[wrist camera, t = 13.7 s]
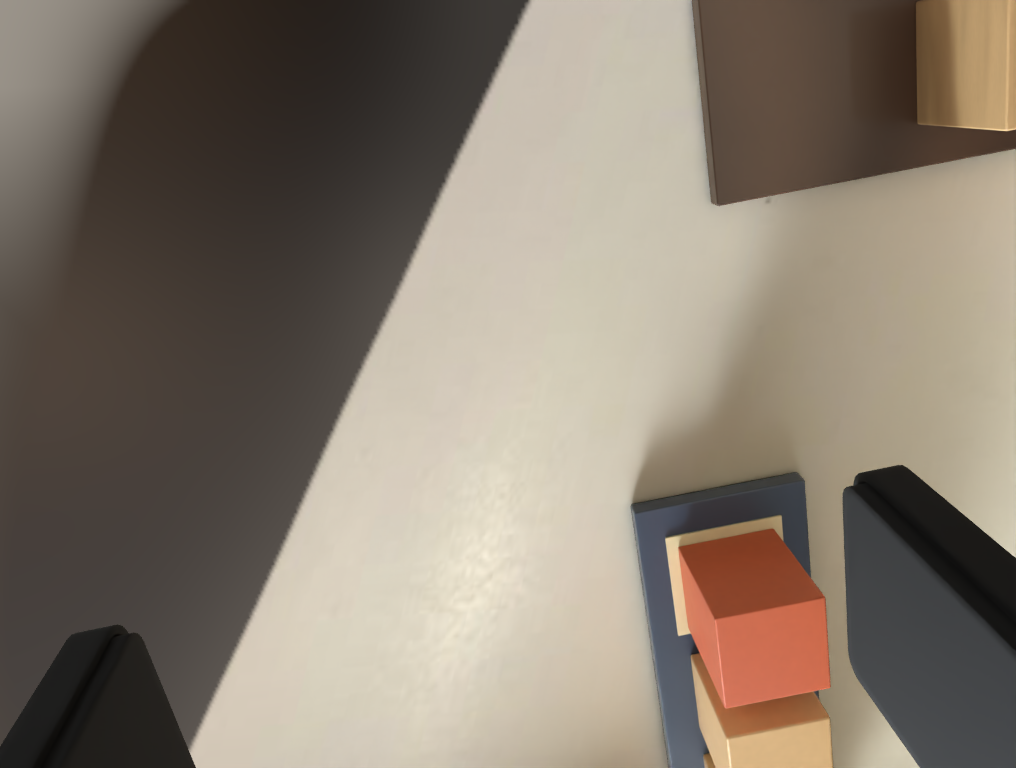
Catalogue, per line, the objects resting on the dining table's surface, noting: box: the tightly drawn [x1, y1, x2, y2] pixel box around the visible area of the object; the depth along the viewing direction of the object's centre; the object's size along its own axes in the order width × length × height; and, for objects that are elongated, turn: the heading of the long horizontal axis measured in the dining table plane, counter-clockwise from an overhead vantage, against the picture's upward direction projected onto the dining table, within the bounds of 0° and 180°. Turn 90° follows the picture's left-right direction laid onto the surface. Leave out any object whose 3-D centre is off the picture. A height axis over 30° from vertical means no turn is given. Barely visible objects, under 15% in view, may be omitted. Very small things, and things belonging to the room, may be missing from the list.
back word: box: [631, 473, 833, 768], centre depth 36 cm, size 24×7×6 cm, turn 10°
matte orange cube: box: [678, 529, 831, 708], centre depth 33 cm, size 4×4×5 cm
